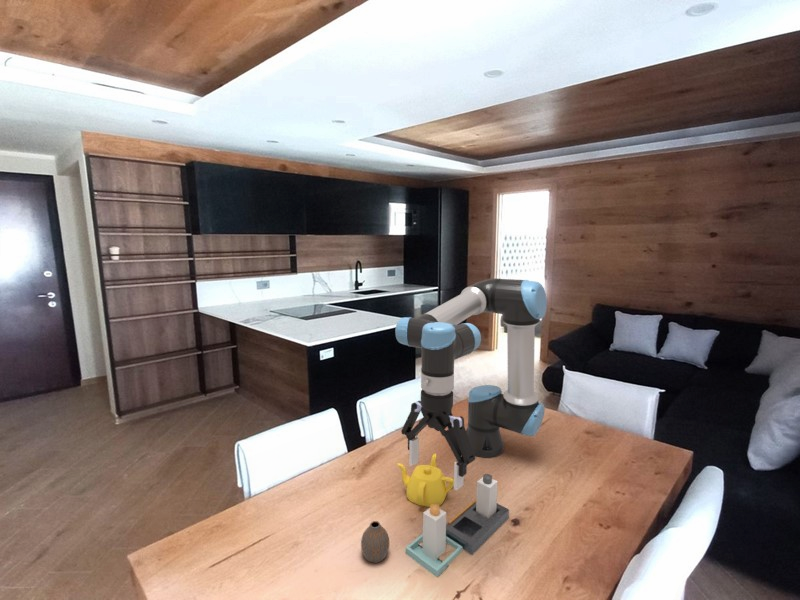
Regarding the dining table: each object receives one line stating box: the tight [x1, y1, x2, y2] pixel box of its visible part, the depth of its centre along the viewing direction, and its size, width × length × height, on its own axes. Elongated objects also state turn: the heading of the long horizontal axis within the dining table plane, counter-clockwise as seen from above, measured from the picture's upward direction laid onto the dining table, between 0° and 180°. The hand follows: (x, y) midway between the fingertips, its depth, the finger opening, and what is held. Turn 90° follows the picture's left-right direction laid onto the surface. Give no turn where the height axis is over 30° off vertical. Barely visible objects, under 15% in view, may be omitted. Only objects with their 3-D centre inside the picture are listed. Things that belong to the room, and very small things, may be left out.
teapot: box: [396, 453, 454, 508], centre depth 117 cm, size 14×13×10 cm
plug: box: [422, 504, 447, 562], centre depth 96 cm, size 4×4×12 cm
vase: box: [360, 520, 390, 564], centre depth 95 cm, size 7×7×9 cm
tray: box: [404, 533, 464, 578], centre depth 97 cm, size 10×10×2 cm
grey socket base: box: [446, 498, 510, 556], centre depth 105 cm, size 9×18×4 cm, turn 136°
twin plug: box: [475, 473, 499, 520], centre depth 107 cm, size 4×4×12 cm
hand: (435, 474), depth 93 cm, fingers open, 13 cm apart
